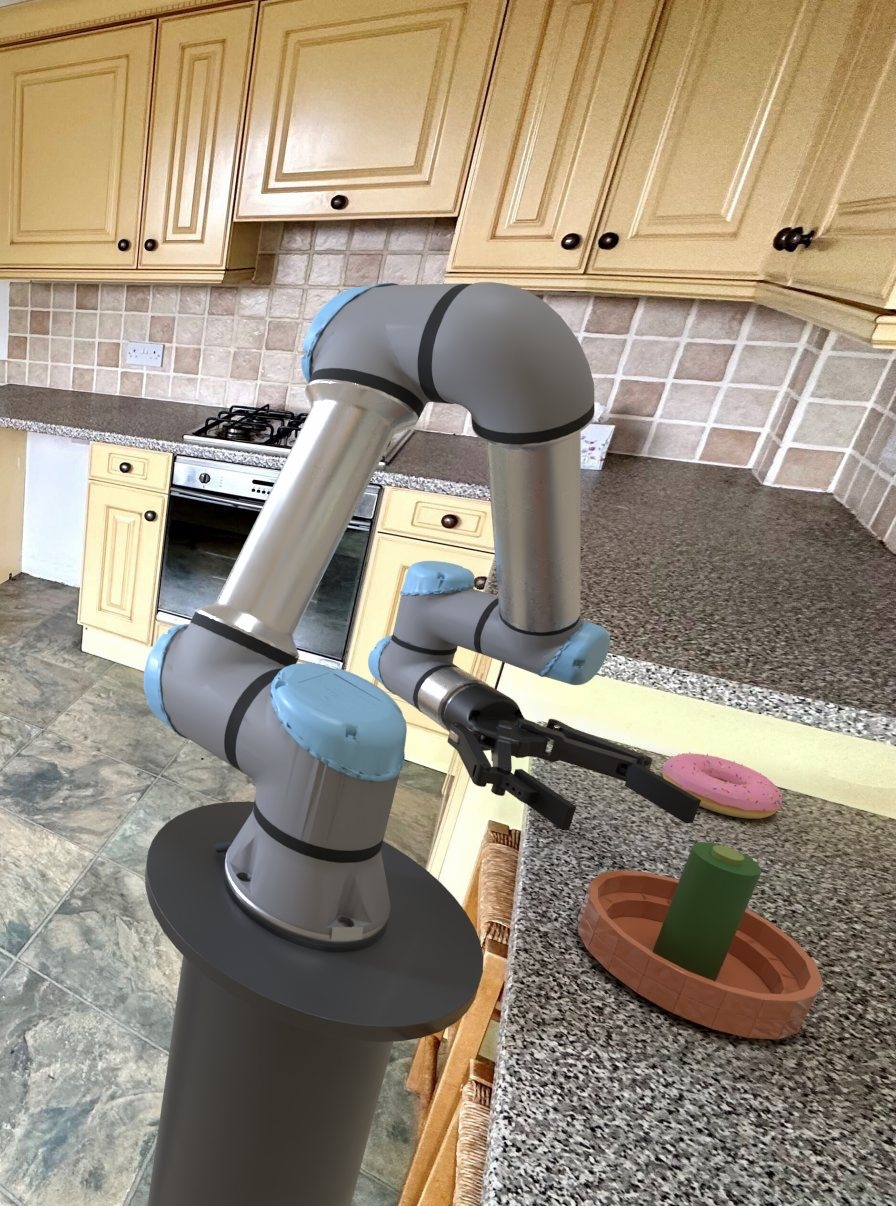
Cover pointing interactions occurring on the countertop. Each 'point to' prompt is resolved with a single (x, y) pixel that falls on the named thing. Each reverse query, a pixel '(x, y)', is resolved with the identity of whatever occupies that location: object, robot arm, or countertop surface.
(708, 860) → the battery
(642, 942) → the bowl
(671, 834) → the countertop surface
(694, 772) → the doughnut
